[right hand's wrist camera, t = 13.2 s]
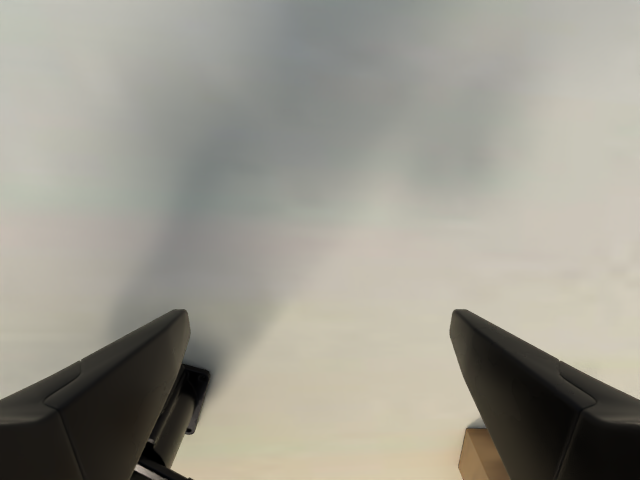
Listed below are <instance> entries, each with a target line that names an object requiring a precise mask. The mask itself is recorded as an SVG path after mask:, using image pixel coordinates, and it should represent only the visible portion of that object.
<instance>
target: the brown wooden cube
mask: <svg viewBox="0 0 640 480" xmlns="http://www.w3.org/2000/svg"><path fill="white" fill-rule="evenodd" d="M459 470H460V473H461V475H462V478H463V480H510V478H509V476H508V473H507V471H506V469H505V467H504V465H503V462H502V460H501V458H500V456H499V454H498V452H497V449H496V447H495V445H494V443H493V441H492V439H491V436H490V434H489V432H488V430H487V429H466V433H465V438H464V443H463V448H462V453H461V458H460V462H459Z"/></svg>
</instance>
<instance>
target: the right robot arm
mask: <svg viewBox="0 0 640 480" xmlns="http://www.w3.org/2000/svg"><path fill="white" fill-rule="evenodd" d="M189 338H190V324H189V318H188V313H187V311H186V310H184V309H175V310H172V311H170V312H168V313H166V314H164V315H163V316H161V317H159V318H157V319H155V320H153V321H151V322H150V323H148V324H146V325H144V326H142V327H140V328H139V329H137V330H135V331H133V332H131V333H129V334H127V335H126V336H124V337H122V338H120V339H118V340H116V341H115V342H113V343H111V344H109V345H107V346H105V347H104V348H102V349H100V350H98V351H96V352H94V353H92V354H91V355H89V356H87V357H85V358H83V359H82V360H81V361H78V362H76V363H74V364H72V365H70V366H68V367H66V368H65V369H63V370H61V371H59V372H57V373H55V374H53V375H51V376H49V377H47V378H45V379H43V380H41V381H39V382H37V383H35V384H33V385H31V386H29V387H27V388H25V389H22V390H20V391H18V392H16V393H14V394H12V395H10V396H8V397H6V398H4V399H1V400H0V480H193V479H191V478H186V477H184V476H182V475H180V474H178V473H177V472H175V471H173V470H171V469H170V468H171V466H172V464H173V461H174V459H175V456H176V454H177V451H178V449H179V447H180V444H181V442H182V439H183V437H184V434H188V435H190V434H193V433H194V432H195V429H196V426H197V423H198V419H199V415H200V412H201V408H202V405H203V401H204V398H205V394H206V391H207V387H208V383H209V380H210V372H208V371H207V370H204V369H200V368H196V367H193V366H189V365H185V364H181V363H182V360H183V357H184V354H185V350H186V347H187V344H188V341H189ZM450 338H451V341H452V344H453V347H454V350H455V354H456V357H457V360H458V363H459V366H460V369H461V372H462V375H463V377H464V380H465V382H466V384H467V386H468V388H469V391H470V393H471V395H472V397H473V399H474V402H475V404H476V406H477V408H478V410H479V412H480V415H481V417H482V419H483V421H484V423H485V425H486V428H487V430H488V432H489V434H490V436H491V439H492V441H493V443H494V445H495V447H496V449H497V452H498V454H499V456H500V458H501V460H502V462H503V465H504V467H505V469H506V471H507V473H508V476H509V478H510V480H640V400H639V399H636V398H634V397H632V396H630V395H628V394H626V393H624V392H622V391H620V390H618V389H615V388H613V387H611V386H609V385H607V384H605V383H603V382H601V381H599V380H597V379H595V378H593V377H591V376H589V375H587V374H585V373H583V372H581V371H579V370H577V369H575V368H574V367H572V366H570V365H568V364H566V363H564V362H562V361H559V360H558V359H557V358H555V357H553V356H551V355H549V354H548V353H546V352H544V351H542V350H540V349H538V348H537V347H535V346H533V345H531V344H529V343H527V342H525V341H524V340H522V339H520V338H518V337H516V336H514V335H512V334H511V333H509V332H507V331H505V330H503V329H501V328H500V327H498V326H496V325H494V324H492V323H490V322H489V321H487V320H485V319H483V318H481V317H479V316H477V315H476V314H474V313H472V312H470V311H468V310H465V309H456V310H454V311H453V313H452V318H451V324H450ZM202 376H204V377H202Z"/></svg>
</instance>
